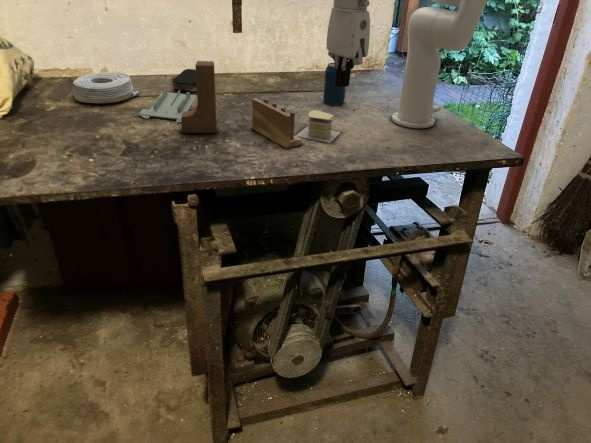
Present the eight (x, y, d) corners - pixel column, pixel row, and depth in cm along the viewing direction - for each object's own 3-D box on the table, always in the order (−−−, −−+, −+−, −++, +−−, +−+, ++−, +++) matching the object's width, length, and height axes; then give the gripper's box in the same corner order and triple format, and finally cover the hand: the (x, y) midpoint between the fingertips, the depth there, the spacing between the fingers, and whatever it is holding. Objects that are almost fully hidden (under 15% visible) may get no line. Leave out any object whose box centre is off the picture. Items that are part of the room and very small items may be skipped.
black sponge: (186, 78, 173) (186, 68, 171) (209, 80, 172) (209, 70, 170) (171, 91, 159) (169, 80, 157) (195, 93, 158) (195, 82, 156)
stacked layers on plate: (340, 132, 134) (342, 113, 132) (329, 143, 127) (331, 123, 124) (307, 125, 138) (309, 107, 135) (295, 136, 131) (296, 116, 128)
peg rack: (267, 125, 136) (267, 96, 132) (301, 144, 126) (303, 113, 121) (252, 128, 134) (252, 98, 129) (286, 148, 123) (287, 116, 119)
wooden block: (182, 133, 128) (176, 64, 119) (183, 127, 132) (178, 60, 123) (216, 133, 129) (213, 65, 120) (216, 127, 133) (214, 61, 124)
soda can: (348, 104, 156) (352, 66, 150) (329, 106, 153) (332, 68, 147) (337, 98, 161) (340, 61, 155) (319, 100, 159) (322, 62, 152)
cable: (144, 93, 157) (142, 74, 153) (114, 109, 142) (111, 88, 139) (96, 86, 160) (93, 68, 157) (62, 102, 145) (58, 82, 142)
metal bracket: (155, 84, 145) (203, 89, 143) (160, 101, 149) (205, 106, 147) (135, 111, 136) (185, 117, 133) (140, 128, 140) (189, 134, 138)
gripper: (387, 6, 103) (375, 92, 112) (340, -3, 113) (333, 76, 122) (361, 8, 99) (351, 96, 108) (316, -2, 109) (310, 80, 118)
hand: (341, 85), depth 115 cm, fingers closed
